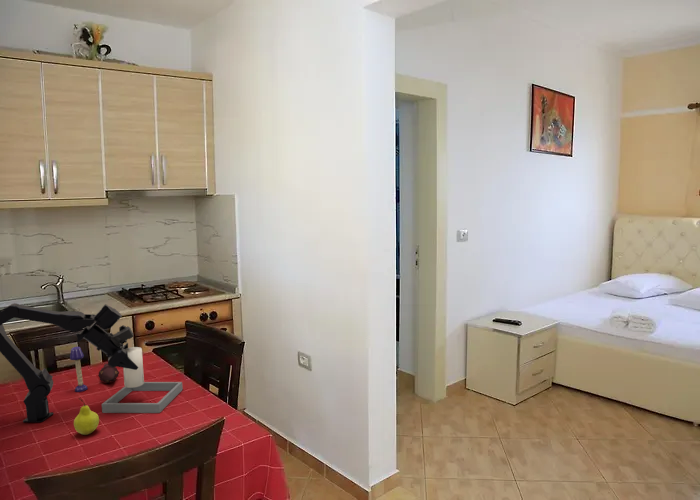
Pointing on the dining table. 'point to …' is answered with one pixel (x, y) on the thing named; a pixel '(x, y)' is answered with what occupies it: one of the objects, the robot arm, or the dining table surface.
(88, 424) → the fruit
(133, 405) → the frame
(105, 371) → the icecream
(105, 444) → the dining table surface
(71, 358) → the toy lamp
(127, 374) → the white pillar candle
